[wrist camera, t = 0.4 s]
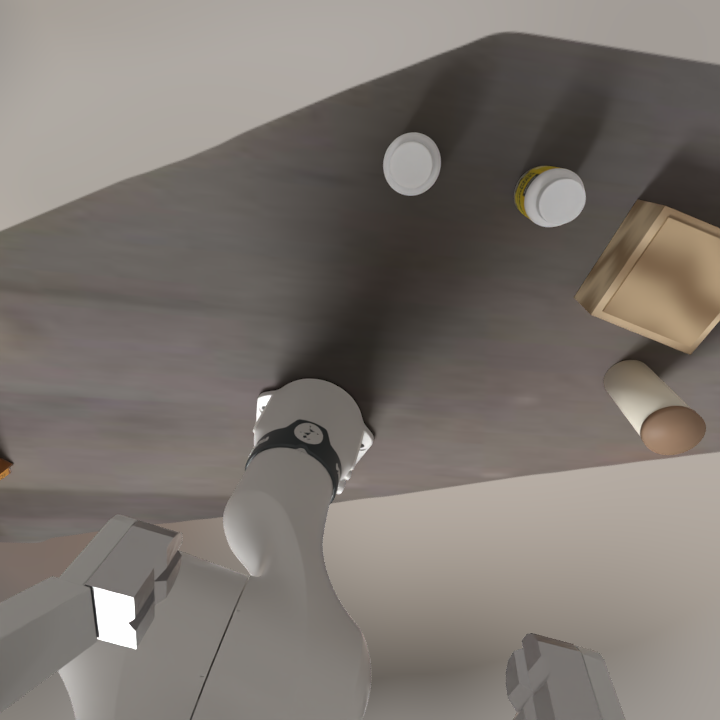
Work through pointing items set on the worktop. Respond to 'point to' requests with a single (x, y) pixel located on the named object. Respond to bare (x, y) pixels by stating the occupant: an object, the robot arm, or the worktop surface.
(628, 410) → the cream tin
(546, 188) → the supplement bottle
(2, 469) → the pancake mix bag
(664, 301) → the oak block
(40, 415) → the worktop surface
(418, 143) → the supplement bottle
